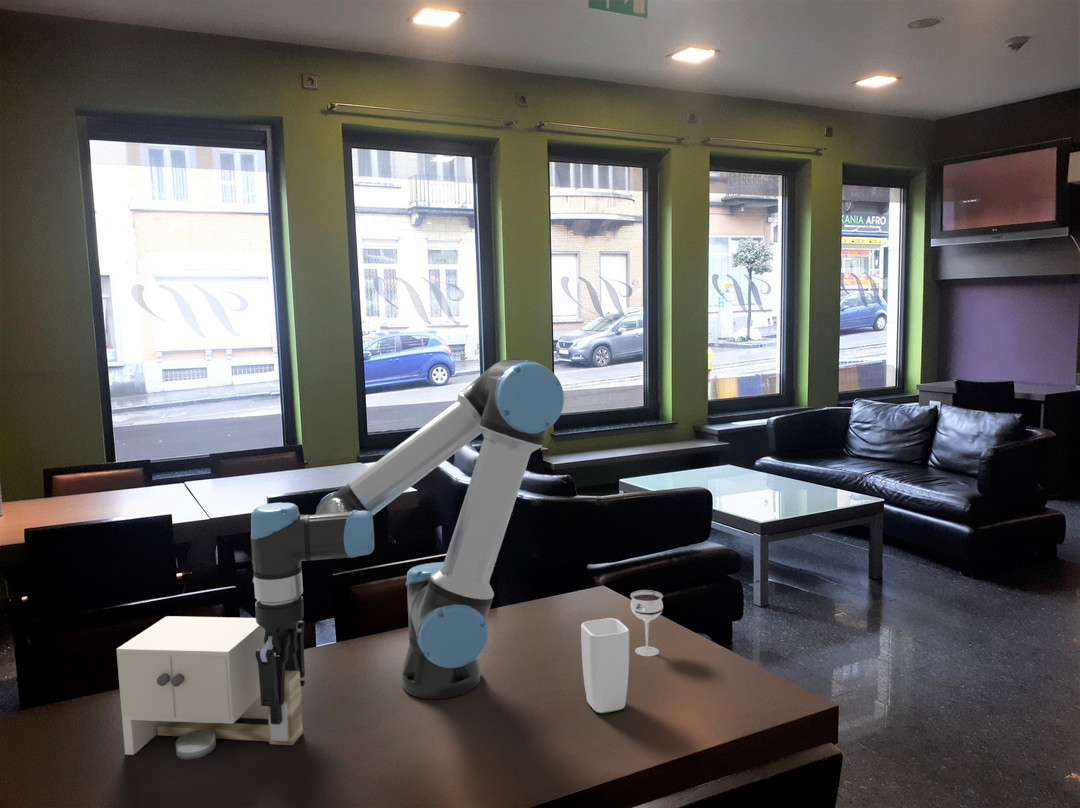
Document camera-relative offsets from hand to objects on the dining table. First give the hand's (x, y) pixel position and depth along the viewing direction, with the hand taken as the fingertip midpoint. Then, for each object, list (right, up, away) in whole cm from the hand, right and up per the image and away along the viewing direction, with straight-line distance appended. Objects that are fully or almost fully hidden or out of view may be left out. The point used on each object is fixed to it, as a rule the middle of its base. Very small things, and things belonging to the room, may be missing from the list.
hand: (286, 731), depth 132 cm
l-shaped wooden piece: (-10, -1, +1) cm, 10 cm away
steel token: (-14, -2, -2) cm, 14 cm away
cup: (+55, +1, +9) cm, 55 cm away
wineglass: (+65, +3, +32) cm, 72 cm away
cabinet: (-15, -1, +2) cm, 15 cm away
